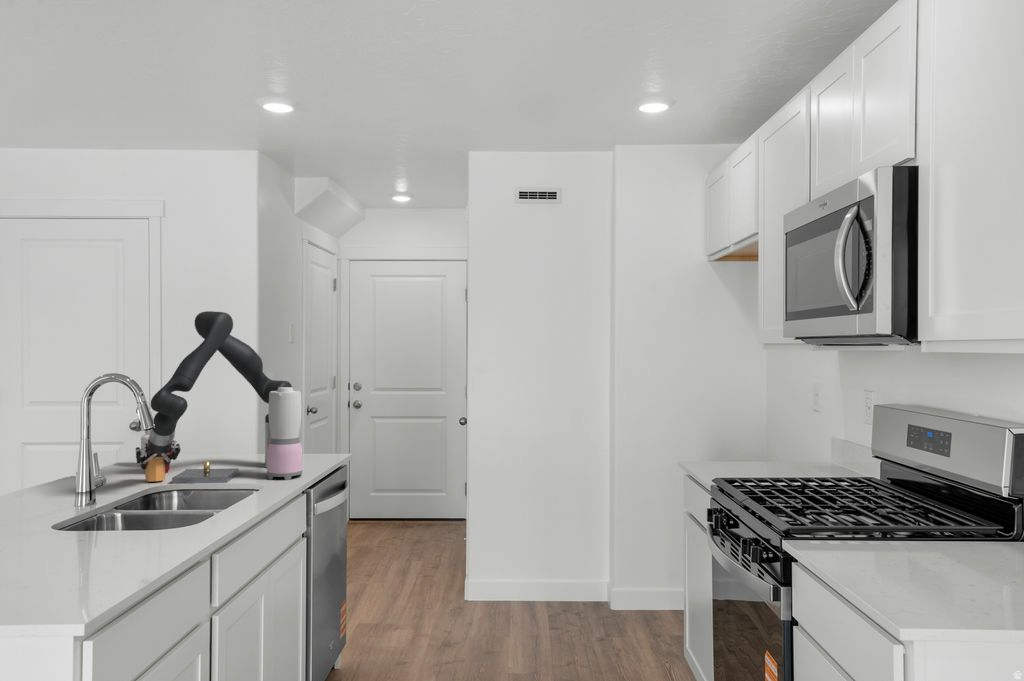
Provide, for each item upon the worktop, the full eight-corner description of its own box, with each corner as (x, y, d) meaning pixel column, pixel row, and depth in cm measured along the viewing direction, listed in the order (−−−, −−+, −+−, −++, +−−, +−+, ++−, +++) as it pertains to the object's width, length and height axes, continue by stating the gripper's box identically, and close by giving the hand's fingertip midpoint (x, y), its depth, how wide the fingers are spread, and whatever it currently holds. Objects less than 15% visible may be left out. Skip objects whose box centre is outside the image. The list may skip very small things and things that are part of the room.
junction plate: (187, 474, 259) (187, 458, 259) (238, 473, 261) (239, 457, 261) (172, 483, 243) (172, 466, 243) (227, 482, 245) (227, 465, 245)
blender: (294, 480, 249) (294, 389, 249) (260, 479, 250) (261, 388, 250) (311, 472, 265) (311, 386, 265) (279, 471, 266) (280, 385, 266)
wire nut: (149, 478, 249) (149, 449, 249) (167, 477, 249) (167, 449, 249) (143, 481, 243) (143, 452, 243) (161, 481, 244) (161, 452, 244)
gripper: (182, 426, 244) (174, 455, 254) (136, 429, 236) (129, 460, 245) (186, 443, 240) (178, 473, 250) (139, 447, 232) (132, 478, 241)
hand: (154, 466), depth 247 cm, fingers closed on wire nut, 6 cm apart
